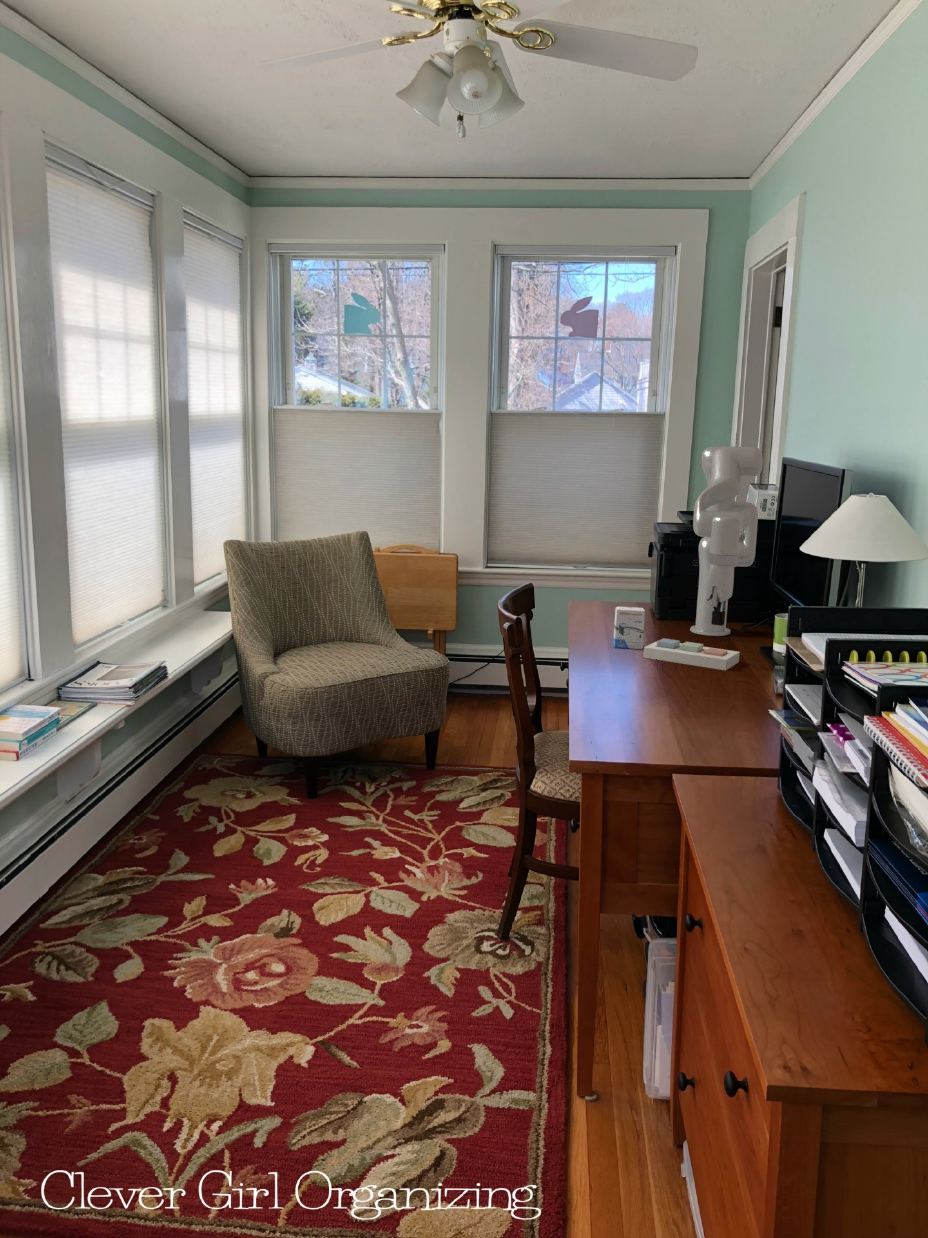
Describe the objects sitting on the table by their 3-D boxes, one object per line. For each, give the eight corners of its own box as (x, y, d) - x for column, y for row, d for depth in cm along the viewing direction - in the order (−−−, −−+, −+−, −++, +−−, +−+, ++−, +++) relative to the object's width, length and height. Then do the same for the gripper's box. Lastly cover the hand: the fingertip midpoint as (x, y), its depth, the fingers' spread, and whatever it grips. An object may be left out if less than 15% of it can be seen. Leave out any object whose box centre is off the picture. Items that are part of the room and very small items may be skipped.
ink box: (613, 648, 289) (616, 609, 287) (612, 644, 294) (615, 606, 292) (643, 649, 288) (645, 610, 286) (641, 645, 293) (644, 607, 291)
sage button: (685, 650, 280) (686, 641, 279) (702, 653, 277) (703, 644, 277) (679, 653, 276) (680, 644, 275) (696, 656, 273) (697, 647, 272)
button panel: (658, 649, 288) (659, 640, 287) (738, 662, 275) (739, 651, 275) (643, 657, 278) (643, 647, 277) (725, 670, 265) (726, 659, 265)
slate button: (662, 647, 283) (663, 638, 283) (679, 649, 281) (679, 640, 280) (656, 650, 279) (657, 641, 279) (673, 652, 277) (673, 643, 276)
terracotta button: (709, 657, 276) (710, 648, 276) (726, 660, 274) (727, 650, 273) (703, 660, 272) (704, 651, 272) (720, 663, 270) (721, 653, 269)
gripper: (718, 555, 275) (713, 617, 280) (700, 562, 263) (695, 627, 267) (744, 557, 272) (739, 621, 276) (728, 565, 259) (722, 631, 264)
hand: (717, 624), depth 272 cm, fingers closed
